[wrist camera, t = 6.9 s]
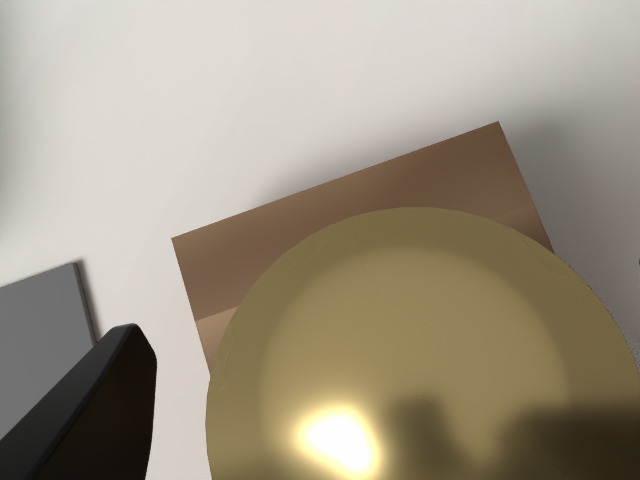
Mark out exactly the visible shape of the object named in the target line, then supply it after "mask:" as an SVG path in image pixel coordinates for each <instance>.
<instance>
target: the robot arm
mask: <svg viewBox="0 0 640 480" xmlns="http://www.w3.org/2000/svg"><path fill="white" fill-rule="evenodd" d="M639 263H640V261H639ZM156 373H157V359H156V355H155V352H154V350H153V349H152V347H151V345H150V344H149V342H148V340H147V338H146V337H145V335H144V333H143V332H142V330H141V328H140V327H139V326H138V325H137V324H134V323H130V324H125V325H120V326H116V327H113V328H112V329H110V330H109V331H108V332H107V333H106V334H105V335H104V336H103V337H102V338H101V339H100V340H99V341H98V342H97V343H96V344H95V345H94V346H93V347H92V348H91V349H90V350H89V351H88V352H87V353H86V354H85V355H84V356H83V357H82V358H81V359H80V360H79V362H78V363H77V364H76V365H75V366H74V367H73V368H72V369H71V370H70V371H69V372H68V373H67V374H66V375H65V376H64V377H63V378H62V379H61V380H60V381H59V382H58V383H57V384H56V385H55V386H54V387H53V388H52V389H51V390H50V391H49V392H48V393H47V394H46V395H45V396H44V397H43V398H42V399H41V400H40V401H39V402H38V403H37V404H36V405H35V406H34V407H33V408H32V409H31V410H30V411H29V412H28V413H27V414H26V415H25V416H24V417H23V418H22V419H21V420H20V421H19V422H18V423H17V424H16V425H15V426H14V427H13V428H12V429H11V430H10V431H9V432H8V433H7V434H6V435H5V436H4V437H3V438H2V439H1V440H0V480H145V477H146V472H147V466H148V461H149V455H150V449H151V442H152V432H153V419H154V404H155V388H156Z"/></svg>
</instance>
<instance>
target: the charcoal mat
mask: <svg viewBox="0 0 640 480" xmlns="http://www.w3.org/2000/svg"><path fill="white" fill-rule="evenodd" d="M95 344H96V341H95V337H94V333H93V328H92V324H91V320H90V316H89V312H88V308H87V304H86V300H85V296H84V292H83V288H82V284H81V280H80V276H79V272H78V268H77V264H76V263H69V264H66V265H64V266H61V267H58V268H55V269H52V270H50V271H47V272H44V273H41V274H39V275H36V276H33V277H30V278H27V279H25V280H22V281H19V282H16V283H13V284H11V285H8V286H5V287H2V288H0V440H1V439H2V438H3V437H4V436H5V435H6V434H7V433H8V432H9V431H10V430H11V429H12V428H13V427H14V426H15V425H16V424H17V423H18V422H19V421H20V420H21V419H22V418H23V417H24V416H25V415H26V414H27V413H28V412H29V411H30V410H31V409H32V408H33V407H34V406H35V405H36V404H37V403H38V402H39V401H40V400H41V399H42V398H43V397H44V396H45V395H46V394H47V393H48V392H49V391H50V390H51V389H52V388H53V387H54V386H55V385H56V384H57V383H58V382H59V381H60V380H61V379H62V378H63V377H64V376H65V375H66V374H67V373H68V372H69V371H70V370H71V369H72V368H73V367H74V366H75V365H76V364H77V363H78V362H79V360H80V359H81V358H82V357H83V356H84V355H85V354H86V353H87V352H88V351H89V350H90V349H91V348H92V347H93V346H94V345H95Z"/></svg>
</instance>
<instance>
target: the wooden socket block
mask: <svg viewBox="0 0 640 480" xmlns="http://www.w3.org/2000/svg"><path fill="white" fill-rule="evenodd" d="M399 207H434V208H442V209H450V210H458V211H462V212H466V213H470V214H473V215H477V216H481V217H485V218H488V219H490V220H493V221H495V222H498V223H500V224H503V225H505V226H508V227H510V228H513V229H514V230H516V231H518V232H520V233H522V234H524V235H525V236H527V237H529V238H531V239H533V240H535V241H536V242H538V243H539V244H541V245H542V246H544V247H545V248H546V249H548V250H549V251H551V252H552V253H553V254H555V253H554V251H553V248H552V246H551V244H550V241H549V239H548V237H547V234H546V232H545V230H544V227H543V225H542V223H541V220H540V218H539V215H538V213H537V211H536V208H535V206H534V204H533V201H532V199H531V197H530V194H529V192H528V190H527V187H526V185H525V182H524V180H523V178H522V175H521V173H520V171H519V168H518V166H517V164H516V161H515V159H514V157H513V154H512V152H511V149H510V147H509V145H508V142H507V140H506V138H505V135H504V133H503V131H502V128H501V126H500V124H499V121H498V122H495V123H492V124H489V125H487V126H484V127H481V128H478V129H475V130H473V131H470V132H467V133H464V134H461V135H459V136H456V137H453V138H450V139H447V140H445V141H442V142H439V143H436V144H433V145H431V146H428V147H425V148H422V149H419V150H417V151H414V152H411V153H408V154H405V155H403V156H400V157H397V158H394V159H391V160H389V161H386V162H383V163H380V164H377V165H375V166H372V167H369V168H366V169H363V170H361V171H358V172H355V173H352V174H349V175H347V176H344V177H341V178H338V179H335V180H333V181H330V182H327V183H324V184H322V185H319V186H316V187H313V188H310V189H308V190H305V191H302V192H299V193H296V194H294V195H291V196H288V197H285V198H282V199H280V200H277V201H274V202H271V203H268V204H266V205H263V206H260V207H257V208H254V209H252V210H249V211H246V212H243V213H240V214H238V215H235V216H232V217H229V218H226V219H224V220H221V221H218V222H215V223H212V224H210V225H207V226H204V227H201V228H198V229H196V230H193V231H190V232H187V233H184V234H182V235H179V236H176V237H173V238H171V239H172V243H173V246H174V250H175V253H176V257H177V260H178V264H179V267H180V271H181V274H182V278H183V281H184V285H185V288H186V292H187V295H188V299H189V302H190V306H191V309H192V313H193V316H194V320H195V323H196V327H197V330H198V334H199V337H200V341H201V344H202V348H203V351H204V355H205V358H206V362H207V365H208V369H209V372H210V376H211V371H212V367H213V364H214V360H215V357H216V354H217V351H218V348H219V345H220V342H221V339H222V337H223V335H224V333H225V331H226V328H227V326H228V324H229V322H230V320H231V318H232V316H233V314H234V313H235V311H236V309H237V308H238V306H239V305H240V303H241V301H242V300H243V298H244V296H245V295H246V293H247V292H248V291H249V290H250V289H251V287H252V286H253V285H254V284H255V282H256V281H257V280H258V279H259V277H260V276H261V275H262V274H263V273H264V272H265V271H266V270H267V269H268V268H269V267H270V266H271V265H272V264H273V263H274V262H275V261H276V260H277V259H278V258H279V257H280V256H282V255H283V254H284V253H286V252H287V251H288V250H290V249H291V248H292V247H294V246H295V245H296V244H298V243H299V242H300V241H302V240H303V239H305V238H307V237H309V236H310V235H312V234H314V233H316V232H318V231H319V230H321V229H323V228H325V227H327V226H329V225H332V224H334V223H337V222H339V221H342V220H344V219H347V218H349V217H352V216H356V215H360V214H364V213H368V212H372V211H376V210H383V209H391V208H399Z"/></svg>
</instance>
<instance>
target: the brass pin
mask: <svg viewBox="0 0 640 480" xmlns="http://www.w3.org/2000/svg"><path fill="white" fill-rule="evenodd" d="M205 426H206V442H207V455H208V460H209V465H210V471H211V476H212V480H640V375H639V372H638V369H637V366H636V363H635V360H634V357H633V355H632V353H631V351H630V349H629V347H628V344H627V342H626V340H625V338H624V336H623V334H622V332H621V330H620V328H619V327H618V325H617V324H616V322H615V320H614V319H613V317H612V316H611V314H610V313H609V311H608V310H607V308H606V307H605V305H604V304H603V302H602V301H601V300H600V299H599V298H598V296H597V295H596V294H595V293H594V292H593V290H592V289H591V288H590V287H589V286H588V284H587V283H586V282H585V281H584V280H583V279H582V278H581V277H580V276H579V275H578V274H577V273H576V272H575V271H574V270H572V269H571V268H570V267H569V266H568V265H567V264H566V263H565V262H564V261H563V260H562V259H560V258H559V257H558V256H556V255H555V254H553V253H552V252H551V251H549V250H548V249H546V248H545V247H544V246H542V245H541V244H539V243H538V242H536V241H535V240H533V239H531V238H529V237H527V236H525V235H524V234H522V233H520V232H518V231H516V230H514V229H513V228H510V227H508V226H505V225H503V224H500V223H498V222H495V221H493V220H490V219H488V218H485V217H481V216H477V215H473V214H470V213H466V212H462V211H458V210H450V209H442V208H434V207H399V208H391V209H383V210H376V211H372V212H368V213H364V214H360V215H356V216H352V217H349V218H347V219H344V220H342V221H339V222H337V223H334V224H332V225H329V226H327V227H325V228H323V229H321V230H319V231H318V232H316V233H314V234H312V235H310V236H309V237H307V238H305V239H303V240H302V241H300V242H299V243H298V244H296V245H295V246H294V247H292V248H291V249H290V250H288V251H287V252H286V253H284V254H283V255H282V256H280V257H279V258H278V259H277V260H276V261H275V262H274V263H273V264H272V265H271V266H270V267H269V268H268V269H267V270H266V271H265V272H264V273H263V274H262V275H261V276H260V277H259V279H258V280H257V281H256V282H255V284H254V285H253V286H252V287H251V289H250V290H249V291H248V292H247V293H246V295H245V296H244V298H243V300H242V301H241V303H240V305H239V306H238V308H237V309H236V311H235V313H234V314H233V316H232V318H231V320H230V322H229V324H228V326H227V328H226V331H225V333H224V335H223V337H222V339H221V342H220V345H219V348H218V351H217V354H216V357H215V360H214V364H213V367H212V371H211V377H210V382H209V388H208V393H207V405H206V421H205Z"/></svg>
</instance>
